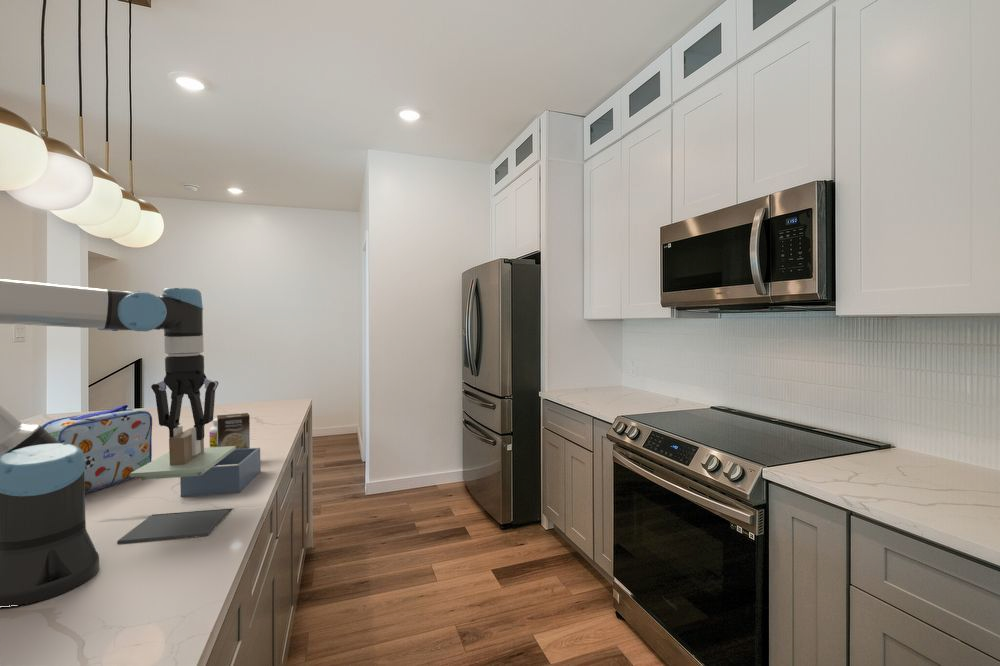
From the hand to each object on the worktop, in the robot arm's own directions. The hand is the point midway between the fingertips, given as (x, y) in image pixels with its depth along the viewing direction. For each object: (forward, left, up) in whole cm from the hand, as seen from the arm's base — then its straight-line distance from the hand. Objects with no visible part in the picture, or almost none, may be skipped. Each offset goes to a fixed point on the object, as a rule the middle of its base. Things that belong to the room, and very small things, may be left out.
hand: (187, 454), depth 108 cm
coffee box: (+43, +5, -15) cm, 46 cm away
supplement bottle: (+55, +13, -15) cm, 58 cm away
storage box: (+22, 0, -15) cm, 27 cm away
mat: (0, 0, -15) cm, 15 cm away
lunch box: (+30, +35, -15) cm, 48 cm away
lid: (0, 0, -3) cm, 3 cm away
